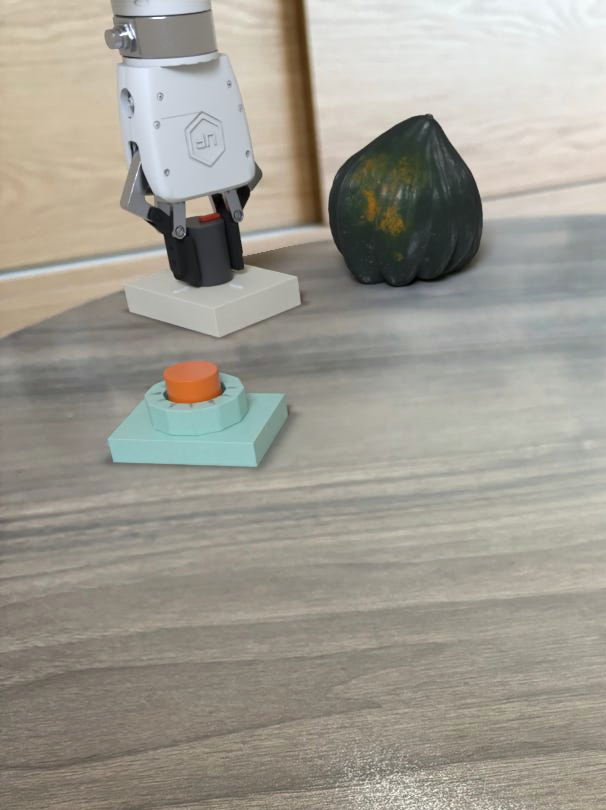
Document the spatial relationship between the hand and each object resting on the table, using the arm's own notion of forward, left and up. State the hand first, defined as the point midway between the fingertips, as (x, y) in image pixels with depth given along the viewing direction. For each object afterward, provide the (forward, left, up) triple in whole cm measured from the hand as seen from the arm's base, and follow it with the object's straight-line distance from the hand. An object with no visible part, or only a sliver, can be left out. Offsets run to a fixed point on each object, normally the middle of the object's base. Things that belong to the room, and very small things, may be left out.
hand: (209, 272), depth 92 cm
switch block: (+20, -19, -4) cm, 28 cm away
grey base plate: (0, 0, -4) cm, 4 cm away
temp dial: (0, 0, -1) cm, 1 cm away
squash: (+8, +18, -4) cm, 20 cm away
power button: (+20, -19, 0) cm, 28 cm away
